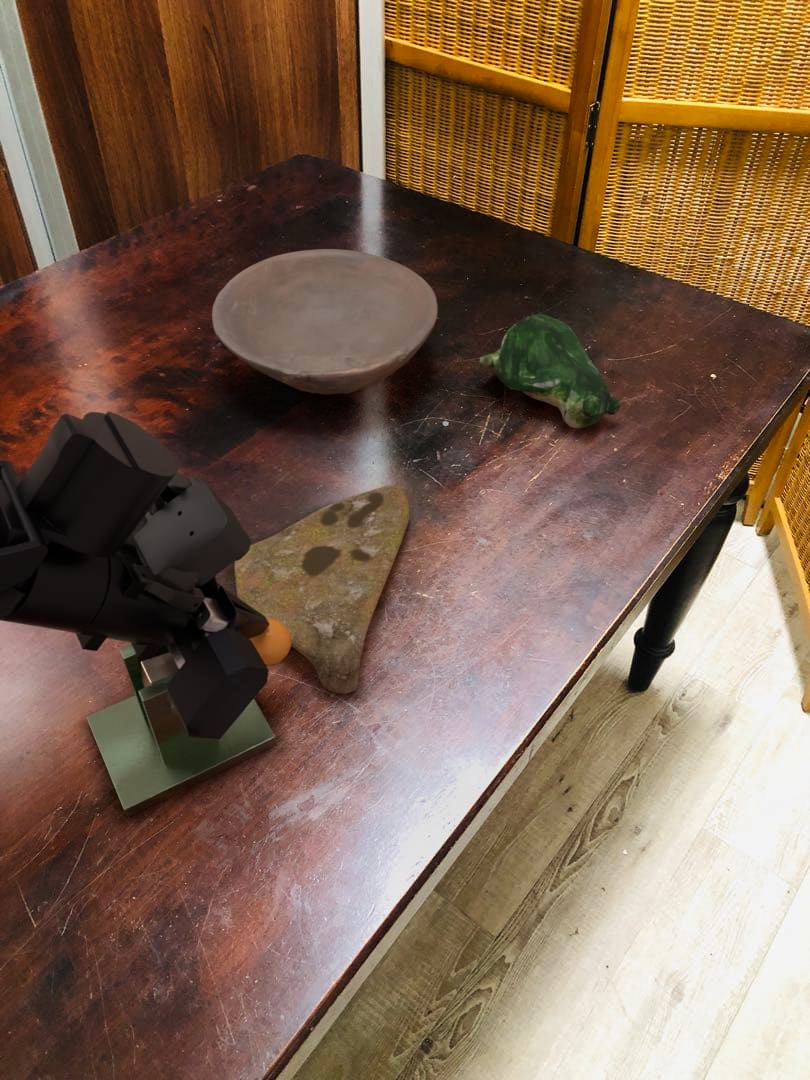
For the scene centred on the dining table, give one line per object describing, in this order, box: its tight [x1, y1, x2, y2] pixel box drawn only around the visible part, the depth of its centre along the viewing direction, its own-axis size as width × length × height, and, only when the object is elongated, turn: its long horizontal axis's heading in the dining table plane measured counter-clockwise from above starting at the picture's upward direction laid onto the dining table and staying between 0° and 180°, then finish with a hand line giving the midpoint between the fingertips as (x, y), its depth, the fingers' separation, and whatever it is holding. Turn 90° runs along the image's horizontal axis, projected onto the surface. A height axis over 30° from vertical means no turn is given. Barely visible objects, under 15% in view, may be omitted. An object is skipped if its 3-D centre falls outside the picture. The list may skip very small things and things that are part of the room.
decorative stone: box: [234, 484, 411, 694], centre depth 81 cm, size 25×15×5 cm, turn 165°
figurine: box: [477, 313, 621, 429], centre depth 97 cm, size 14×9×15 cm
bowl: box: [211, 248, 439, 395], centre depth 100 cm, size 25×25×8 cm
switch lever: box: [141, 618, 292, 688], centre depth 65 cm, size 11×4×4 cm, turn 121°
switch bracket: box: [85, 643, 277, 818], centre depth 65 cm, size 12×9×10 cm
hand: (264, 625), depth 65 cm, fingers closed
